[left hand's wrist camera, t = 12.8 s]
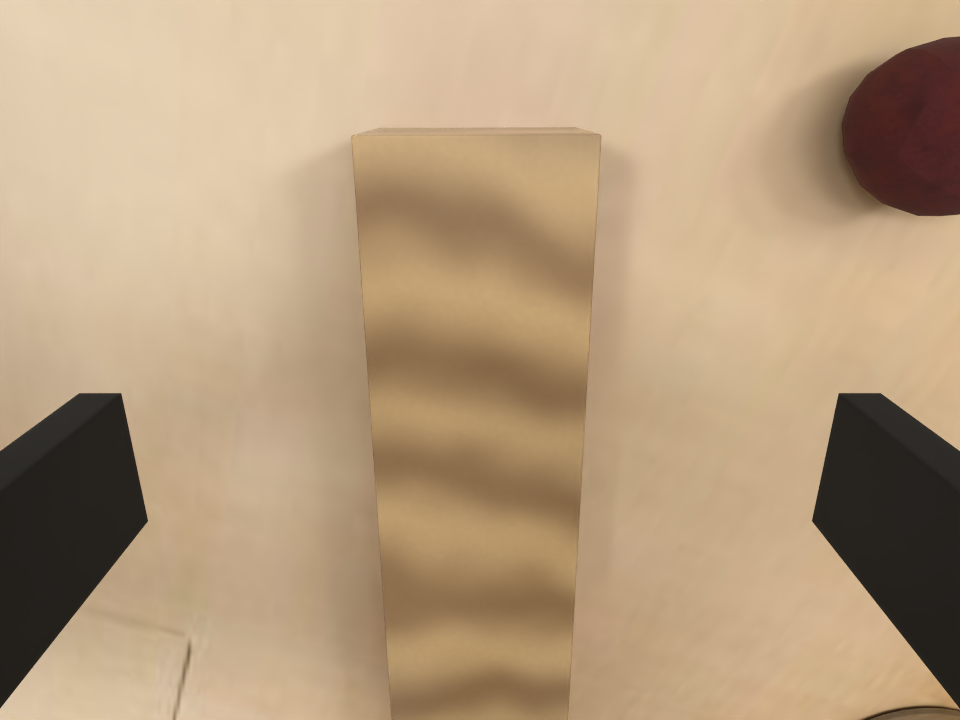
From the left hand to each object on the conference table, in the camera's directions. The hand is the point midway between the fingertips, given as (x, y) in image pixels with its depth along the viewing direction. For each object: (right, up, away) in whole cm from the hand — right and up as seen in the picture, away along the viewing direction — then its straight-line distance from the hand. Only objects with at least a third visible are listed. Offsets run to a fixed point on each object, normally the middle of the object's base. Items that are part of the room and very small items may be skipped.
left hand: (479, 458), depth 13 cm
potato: (+20, +13, +20) cm, 32 cm away
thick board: (0, -19, +33) cm, 38 cm away
